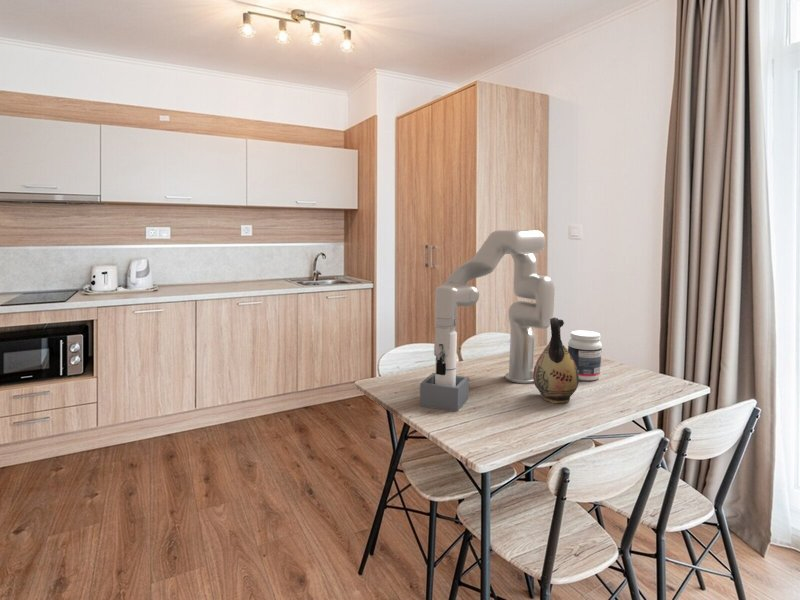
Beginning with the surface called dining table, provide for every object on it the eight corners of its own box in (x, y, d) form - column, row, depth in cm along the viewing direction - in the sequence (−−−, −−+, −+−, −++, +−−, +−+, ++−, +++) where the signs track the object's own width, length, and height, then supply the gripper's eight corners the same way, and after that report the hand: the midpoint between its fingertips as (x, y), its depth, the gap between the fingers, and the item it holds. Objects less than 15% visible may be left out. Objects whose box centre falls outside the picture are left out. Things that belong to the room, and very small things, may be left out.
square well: (468, 398, 174) (468, 377, 173) (457, 411, 162) (458, 388, 161) (432, 393, 180) (433, 372, 179) (419, 405, 167) (420, 383, 166)
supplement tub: (564, 371, 208) (566, 329, 205) (595, 373, 206) (598, 330, 203) (569, 380, 195) (572, 335, 193) (603, 382, 193) (606, 337, 191)
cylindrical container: (454, 406, 167) (456, 334, 163) (433, 404, 168) (434, 333, 165) (455, 399, 174) (457, 330, 170) (435, 397, 175) (437, 329, 172)
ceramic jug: (535, 389, 185) (538, 311, 180) (578, 395, 179) (583, 314, 174) (528, 404, 169) (532, 319, 165) (576, 411, 163) (581, 322, 159)
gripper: (443, 317, 176) (442, 363, 179) (427, 325, 160) (426, 376, 163) (463, 318, 173) (462, 365, 176) (448, 327, 158) (448, 379, 160)
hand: (445, 370), depth 169 cm, fingers open, 9 cm apart
